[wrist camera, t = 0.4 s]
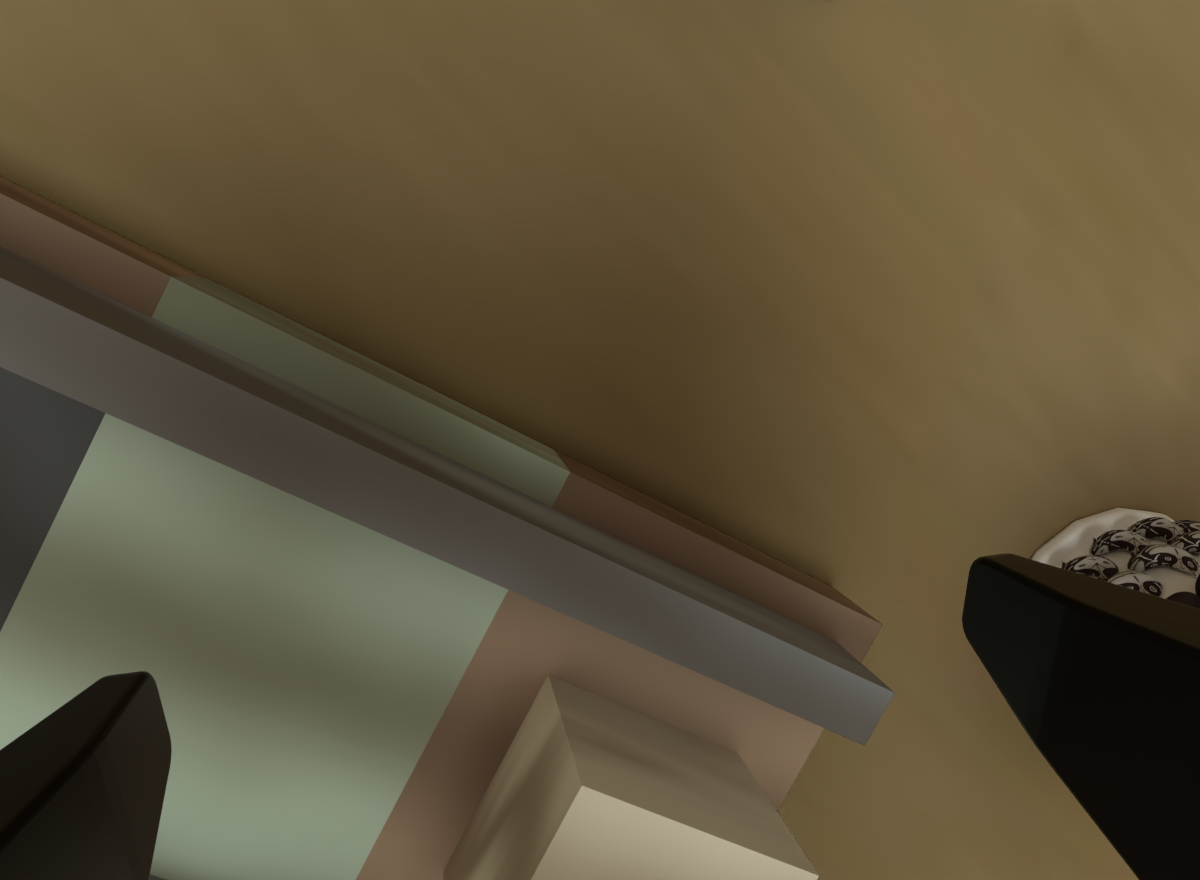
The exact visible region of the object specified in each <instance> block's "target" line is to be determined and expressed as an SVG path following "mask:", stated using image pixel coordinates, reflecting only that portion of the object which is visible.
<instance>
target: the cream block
mask: <svg viewBox="0 0 1200 880" xmlns="http://www.w3.org/2000/svg"><path fill="white" fill-rule="evenodd" d="M818 877H819V875H818V873H817V872H816V870H815V869H814V867H813V866H812V864H811V863H810V861H809V860H808V858H807V857H806V855H805V854H804V852H803V851H802V849H801V848H800V846H799V845H798V843H797V842H796V840H795V839H794V837H793V836H792V834H791V832H790V831H789V829H788V828H787V826H786V825H785V823H784V822H783V820H782V819H781V817H780V816H779V814H778V813H777V811H776V810H775V808H774V807H773V805H772V804H771V802H770V801H769V799H768V798H767V796H766V795H765V793H764V792H763V790H762V789H761V787H760V785H759V784H758V782H757V781H756V779H755V778H754V776H753V775H752V773H751V772H750V770H749V769H748V767H747V766H746V764H745V763H744V761H743V760H742V758H741V757H740V755H739V754H738V753H736V752H733V751H731V750H729V749H726V748H724V747H721V746H719V745H716V744H714V743H712V742H709V741H707V740H704V739H702V738H700V737H697V736H695V735H692V734H690V733H688V732H685V731H683V730H680V729H678V728H676V727H673V726H671V725H668V724H666V723H663V722H661V721H659V720H656V719H654V718H651V717H649V716H647V715H644V714H642V713H639V712H637V711H635V710H632V709H630V708H627V707H625V706H623V705H620V704H618V703H615V702H613V701H610V700H608V699H606V698H603V697H601V696H598V695H596V694H594V693H591V692H589V691H586V690H584V689H582V688H579V687H577V686H574V685H572V684H569V683H567V682H565V681H562V680H560V679H557V678H555V677H553V676H550V675H548V676H547V678H546V680H545V682H544V684H543V685H542V687H541V689H540V691H539V693H538V695H537V697H536V699H535V700H534V702H533V704H532V706H531V708H530V710H529V712H528V714H527V715H526V717H525V719H524V721H523V723H522V725H521V727H520V728H519V730H518V732H517V734H516V736H515V738H514V740H513V742H512V743H511V745H510V747H509V749H508V751H507V753H506V755H505V757H504V758H503V760H502V762H501V764H500V766H499V768H498V770H497V772H496V773H495V775H494V777H493V779H492V781H491V783H490V785H489V786H488V788H487V790H486V792H485V794H484V796H483V798H482V800H481V801H480V803H479V805H478V807H477V809H476V811H475V813H474V815H473V816H472V818H471V820H470V822H469V824H468V826H467V828H466V829H465V831H464V833H463V835H462V837H461V839H460V841H459V843H458V844H457V846H456V848H455V850H454V852H453V854H452V856H451V858H450V859H449V861H448V863H447V865H446V867H445V869H444V871H443V880H817V879H818Z"/></svg>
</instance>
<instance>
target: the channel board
mask: <svg viewBox="0 0 1200 880" xmlns="http://www.w3.org/2000/svg"><path fill="white" fill-rule="evenodd" d="M882 625H883V624H881V623H880V622H879V621H877V620H876V619H875V618H873V617H872V616H871V615H869V614H868V613H867V612H865V611H864V610H863V609H861V608H860V607H859V606H857V605H856V604H855V603H853V602H852V601H851V600H849V599H848V598H847V597H845V596H844V595H843V594H841V593H840V592H839V591H837V590H836V589H835V588H833V587H831V586H829V585H827V584H825V583H823V582H821V581H819V580H817V579H815V578H813V577H811V576H809V575H807V574H805V573H803V572H801V571H799V570H797V569H795V568H793V567H791V566H789V565H787V564H785V563H783V562H781V561H779V560H777V559H775V558H773V557H771V556H769V555H767V554H764V553H762V552H760V551H758V550H756V549H754V548H752V547H750V546H748V545H746V544H744V543H742V542H740V541H738V540H736V539H734V538H732V537H730V536H728V535H726V534H724V533H722V532H720V531H718V530H716V529H714V528H712V527H710V526H708V525H706V524H704V523H702V522H700V521H698V520H696V519H694V518H692V517H690V516H688V515H685V514H683V513H681V512H679V511H677V510H675V509H673V508H671V507H669V506H667V505H665V504H663V503H661V502H659V501H657V500H655V499H653V498H651V497H649V496H647V495H645V494H643V493H641V492H639V491H637V490H635V489H633V488H631V487H629V486H627V485H625V484H623V483H621V482H619V481H617V480H615V479H613V478H611V477H609V476H606V475H604V474H602V473H600V472H598V471H596V470H594V469H592V468H590V467H588V466H586V465H584V464H582V463H580V462H578V461H576V460H574V459H572V458H570V457H568V456H566V455H564V454H562V453H560V452H558V451H556V450H554V449H552V448H550V447H548V446H546V445H544V444H542V443H540V442H538V441H536V440H534V439H532V438H530V437H527V436H525V435H523V434H521V433H519V432H517V431H515V430H513V429H511V428H509V427H507V426H505V425H503V424H501V423H499V422H497V421H495V420H493V419H491V418H489V417H487V416H485V415H483V414H481V413H479V412H477V411H475V410H473V409H471V408H469V407H467V406H465V405H463V404H461V403H459V402H457V401H455V400H453V399H451V398H449V397H446V396H444V395H442V394H440V393H438V392H436V391H434V390H432V389H430V388H428V387H426V386H424V385H422V384H420V383H418V382H416V381H414V380H412V379H410V378H408V377H406V376H404V375H402V374H400V373H398V372H396V371H394V370H392V369H390V368H388V367H386V366H384V365H382V364H380V363H378V362H376V361H374V360H372V359H370V358H367V357H365V356H363V355H361V354H359V353H357V352H355V351H353V350H351V349H349V348H347V347H345V346H343V345H341V344H339V343H337V342H335V341H333V340H331V339H329V338H327V337H325V336H323V335H321V334H319V333H317V332H315V331H313V330H311V329H309V328H307V327H305V326H303V325H301V324H299V323H297V322H295V321H293V320H291V319H288V318H286V317H284V316H282V315H280V314H278V313H276V312H274V311H272V310H270V309H268V308H266V307H264V306H262V305H260V304H258V303H256V302H254V301H252V300H250V299H248V298H246V297H244V296H242V295H240V294H238V293H236V292H234V291H232V290H230V289H228V288H226V287H224V286H222V285H220V284H218V283H216V282H214V281H212V280H209V279H207V278H205V277H203V276H201V275H199V274H197V273H195V272H193V271H191V270H189V269H187V268H185V267H183V266H181V265H179V264H177V263H175V262H173V261H171V260H169V259H167V258H165V257H163V256H161V255H159V254H157V253H155V252H153V251H151V250H149V249H147V248H145V247H143V246H141V245H139V244H137V243H135V242H133V241H130V240H128V239H126V238H124V237H122V236H120V235H118V234H116V233H114V232H112V231H110V230H108V229H106V228H104V227H102V226H100V225H98V224H96V223H94V222H92V221H90V220H88V219H86V218H84V217H82V216H80V215H78V214H76V213H74V212H72V211H70V210H68V209H66V208H64V207H62V206H60V205H58V204H56V203H54V202H52V201H49V200H47V199H45V198H43V197H41V196H39V195H37V194H35V193H33V192H31V191H29V190H27V189H25V188H23V187H21V186H19V185H17V184H15V183H13V182H11V181H9V180H7V179H5V178H3V177H1V176H0V750H1V749H2V748H4V747H5V746H7V745H8V744H9V743H11V742H12V741H14V740H15V739H16V738H18V737H19V736H21V735H22V734H23V733H25V732H26V731H28V730H29V729H30V728H32V727H33V726H35V725H36V724H37V723H39V722H40V721H42V720H43V719H44V718H46V717H47V716H49V715H50V714H51V713H53V712H54V711H56V710H57V709H58V708H60V707H61V706H63V705H64V704H66V703H67V702H68V701H70V700H71V699H73V698H74V697H75V696H77V695H78V694H80V693H81V692H82V691H84V690H85V689H87V688H88V687H89V686H91V685H92V684H94V683H95V682H96V681H98V680H99V679H101V678H102V677H105V676H108V675H115V674H123V673H130V672H137V671H146V672H148V673H150V674H151V675H152V676H153V678H154V679H155V681H156V684H157V687H158V691H159V695H160V699H161V703H162V707H163V710H164V714H165V718H166V722H167V726H168V730H169V733H170V738H171V747H172V755H171V764H170V770H169V775H168V781H167V786H166V791H165V797H164V802H163V807H162V813H161V818H160V823H159V829H158V834H157V839H156V845H155V850H154V855H153V861H152V866H151V872H150V877H149V880H443V871H444V869H445V867H446V865H447V863H448V861H449V859H450V858H451V856H452V854H453V852H454V850H455V848H456V846H457V844H458V843H459V841H460V839H461V837H462V835H463V833H464V831H465V829H466V828H467V826H468V824H469V822H470V820H471V818H472V816H473V815H474V813H475V811H476V809H477V807H478V805H479V803H480V801H481V800H482V798H483V796H484V794H485V792H486V790H487V788H488V786H489V785H490V783H491V781H492V779H493V777H494V775H495V773H496V772H497V770H498V768H499V766H500V764H501V762H502V760H503V758H504V757H505V755H506V753H507V751H508V749H509V747H510V745H511V743H512V742H513V740H514V738H515V736H516V734H517V732H518V730H519V728H520V727H521V725H522V723H523V721H524V719H525V717H526V715H527V714H528V712H529V710H530V708H531V706H532V704H533V702H534V700H535V699H536V697H537V695H538V693H539V691H540V689H541V687H542V685H543V684H544V682H545V680H546V678H547V676H548V675H550V676H553V677H555V678H557V679H560V680H562V681H565V682H567V683H569V684H572V685H574V686H577V687H579V688H582V689H584V690H586V691H589V692H591V693H594V694H596V695H598V696H601V697H603V698H606V699H608V700H610V701H613V702H615V703H618V704H620V705H623V706H625V707H627V708H630V709H632V710H635V711H637V712H639V713H642V714H644V715H647V716H649V717H651V718H654V719H656V720H659V721H661V722H663V723H666V724H668V725H671V726H673V727H676V728H678V729H680V730H683V731H685V732H688V733H690V734H692V735H695V736H697V737H700V738H702V739H704V740H707V741H709V742H712V743H714V744H716V745H719V746H721V747H724V748H726V749H729V750H731V751H733V752H736V753H738V754H739V755H740V757H741V758H742V760H743V761H744V763H745V764H746V766H747V767H748V769H749V770H750V772H751V773H752V775H753V776H754V778H755V779H756V781H757V782H758V784H759V785H760V787H761V789H762V790H763V792H764V793H765V795H766V796H767V798H768V799H769V801H770V802H771V804H772V805H773V807H774V808H775V810H776V811H778V810H779V808H780V806H781V804H782V803H783V801H784V799H785V797H786V795H787V794H788V792H789V790H790V788H791V787H792V785H793V783H794V781H795V779H796V778H797V776H798V774H799V772H800V771H801V769H802V767H803V765H804V763H805V762H806V760H807V758H808V756H809V755H810V753H811V751H812V749H813V748H814V746H815V744H816V742H817V740H818V739H819V737H820V735H821V733H822V732H823V730H824V728H825V729H827V730H830V731H832V732H834V733H837V734H839V735H841V736H843V737H846V738H848V739H850V740H852V741H855V742H857V743H859V744H862V745H864V746H865V744H866V743H867V741H868V739H869V737H870V736H871V734H872V732H873V730H874V729H875V727H876V725H877V723H878V722H879V720H880V718H881V716H882V715H883V713H884V711H885V709H886V708H887V706H888V704H889V702H890V700H891V699H892V697H893V695H894V692H893V691H892V690H891V689H890V688H889V687H888V686H886V685H885V684H884V683H883V682H882V681H881V680H880V679H878V678H877V677H876V676H875V675H874V674H873V673H872V672H871V671H869V670H868V669H867V668H866V667H865V666H864V665H863V664H861V662H862V661H863V659H864V657H865V655H866V653H867V652H868V650H869V648H870V646H871V645H872V643H873V641H874V639H875V637H876V636H877V634H878V632H879V630H880V629H881V627H882Z"/></svg>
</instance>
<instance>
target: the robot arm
mask: <svg viewBox="0 0 1200 880" xmlns="http://www.w3.org/2000/svg"><path fill="white" fill-rule="evenodd" d="M962 622H963V629H964V632H965V635H966V637H967V639H968V641H969V643H970V644H971V646H972V647H973V649H974V651H975V652H976V654H977V655H978V657H979V658H980V660H981V662H982V663H983V665H984V666H985V668H986V670H987V671H988V673H989V674H990V676H991V677H992V679H993V681H994V682H995V684H996V685H997V687H998V688H999V690H1000V692H1001V693H1002V695H1003V696H1004V698H1005V699H1006V701H1007V703H1008V704H1009V706H1010V707H1011V709H1012V710H1013V712H1014V714H1015V715H1016V717H1017V718H1018V720H1019V721H1020V723H1021V725H1022V726H1023V728H1024V729H1025V731H1026V732H1027V734H1028V735H1029V737H1030V738H1031V740H1032V741H1033V743H1034V744H1035V746H1036V747H1037V748H1038V750H1039V751H1040V752H1041V754H1042V755H1043V756H1044V758H1045V759H1046V760H1047V762H1048V763H1049V765H1050V766H1051V767H1052V768H1053V770H1054V771H1055V772H1056V774H1057V775H1058V776H1059V777H1060V779H1061V780H1062V781H1063V783H1064V784H1065V785H1066V786H1067V788H1068V789H1069V790H1070V792H1071V793H1072V794H1073V795H1074V797H1075V798H1076V799H1077V801H1078V802H1079V803H1080V804H1081V806H1082V807H1083V808H1084V810H1085V811H1086V812H1087V813H1088V815H1089V816H1090V817H1091V819H1092V820H1093V821H1094V822H1095V824H1096V825H1097V826H1098V828H1099V829H1100V830H1101V831H1102V833H1103V834H1104V835H1105V837H1106V838H1107V839H1108V840H1109V842H1110V843H1111V844H1112V846H1113V847H1114V848H1115V849H1116V851H1117V852H1118V853H1119V855H1120V856H1121V857H1122V858H1123V860H1124V861H1125V862H1126V864H1127V865H1128V866H1129V867H1130V869H1131V870H1132V871H1133V873H1134V874H1135V875H1136V876H1137V878H1138V879H1139V880H1200V609H1198V608H1195V607H1192V606H1188V605H1185V604H1181V603H1178V602H1175V601H1171V600H1168V599H1164V598H1161V597H1157V596H1154V595H1151V594H1147V593H1144V592H1140V591H1137V590H1134V589H1130V588H1127V587H1123V586H1120V585H1116V584H1113V583H1110V582H1106V581H1103V580H1099V579H1096V578H1092V577H1089V576H1086V575H1082V574H1079V573H1075V572H1072V571H1069V570H1065V569H1062V568H1058V567H1055V566H1051V565H1048V564H1045V563H1041V562H1038V561H1034V560H1031V559H1027V558H1024V557H1021V556H1017V555H1014V554H998V555H991V556H984V557H979V558H978V559H976V560H975V561H974V562H973V563H972V565H971V567H970V571H969V577H968V583H967V590H966V596H965V602H964V609H963V615H962ZM171 755H172V747H171V738H170V733H169V730H168V726H167V722H166V718H165V714H164V710H163V707H162V703H161V699H160V695H159V691H158V687H157V684H156V681H155V679H154V678H153V676H152V675H151V674H150V673H148V672H146V671H137V672H130V673H123V674H115V675H108V676H105V677H102V678H101V679H99V680H98V681H96V682H95V683H94V684H92V685H91V686H89V687H88V688H87V689H85V690H84V691H82V692H81V693H80V694H78V695H77V696H75V697H74V698H73V699H71V700H70V701H68V702H67V703H66V704H64V705H63V706H61V707H60V708H58V709H57V710H56V711H54V712H53V713H51V714H50V715H49V716H47V717H46V718H44V719H43V720H42V721H40V722H39V723H37V724H36V725H35V726H33V727H32V728H30V729H29V730H28V731H26V732H25V733H23V734H22V735H21V736H19V737H18V738H16V739H15V740H14V741H12V742H11V743H9V744H8V745H7V746H5V747H4V748H2V749H1V750H0V880H149V877H150V872H151V866H152V861H153V855H154V850H155V845H156V839H157V834H158V829H159V823H160V818H161V813H162V807H163V802H164V797H165V791H166V786H167V781H168V775H169V770H170V764H171Z"/></svg>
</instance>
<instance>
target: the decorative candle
mask: <svg viewBox="0 0 1200 880" xmlns="http://www.w3.org/2000/svg"><path fill="white" fill-rule="evenodd" d="M1031 560H1034V561H1038V562H1041V563H1045V564H1048V565H1051V566H1055V567H1058V568H1062V569H1065V570H1069V571H1072V572H1075V573H1079V574H1082V575H1086V576H1089V577H1092V578H1096V579H1099V580H1103V581H1106V582H1110V583H1113V584H1116V585H1120V586H1123V587H1127V588H1130V589H1134V590H1137V591H1140V592H1144V593H1147V594H1151V595H1154V596H1157V597H1161V598H1164V599H1168V600H1171V601H1175V602H1178V603H1181V604H1185V605H1188V606H1192V607H1195V608H1198V609H1200V522H1198V521H1192V520H1181V521H1174V520H1172V519H1171V518H1169V517H1168V516H1167V515H1164V514H1161V513H1158V512H1150V511H1142V510H1134V509H1126V508H1118V507H1117V508H1114V509H1110V510H1107V511H1104V512H1101V513H1098V514H1094V515H1091V516H1088V517H1085V518H1082V519H1078V520H1075V521H1073V522H1072V523H1071V524H1069V525H1068V526H1067V527H1066V528H1064V529H1063V530H1062V531H1061V532H1059V533H1058V534H1057V535H1056V536H1054V537H1053V538H1052V539H1050V540H1049V541H1048V542H1047V543H1045V544H1044V545H1043V546H1042V547H1040V548H1039V549H1038V550H1037V551H1035V553H1034V555H1033V556H1032V558H1031Z"/></svg>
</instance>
